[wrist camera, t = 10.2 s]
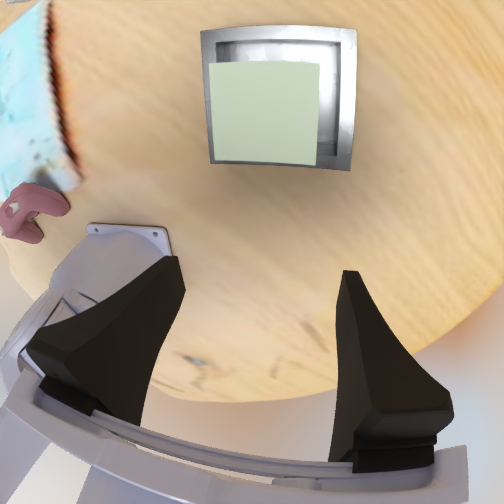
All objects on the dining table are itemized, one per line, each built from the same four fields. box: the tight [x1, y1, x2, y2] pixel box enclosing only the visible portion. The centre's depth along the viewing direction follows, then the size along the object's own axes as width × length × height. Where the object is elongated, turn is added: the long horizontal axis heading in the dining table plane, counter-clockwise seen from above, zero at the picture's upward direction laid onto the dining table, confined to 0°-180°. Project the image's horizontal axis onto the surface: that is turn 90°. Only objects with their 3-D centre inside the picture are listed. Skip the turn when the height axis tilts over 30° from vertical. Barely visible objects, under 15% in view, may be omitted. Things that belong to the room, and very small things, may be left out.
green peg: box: [209, 61, 320, 165], centre depth 13 cm, size 4×4×8 cm
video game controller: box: [0, 182, 69, 244], centre depth 24 cm, size 10×5×7 cm, turn 121°
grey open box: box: [200, 25, 357, 171], centre depth 15 cm, size 8×8×4 cm
